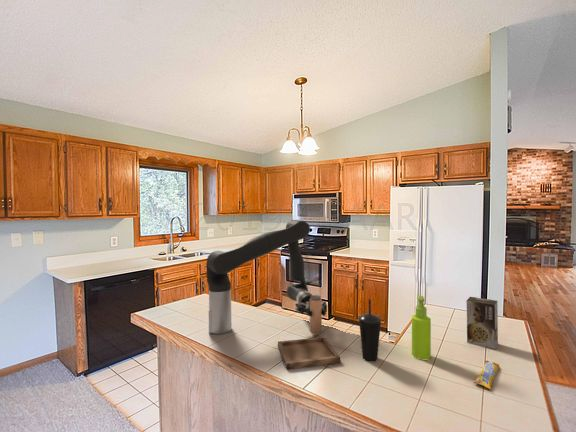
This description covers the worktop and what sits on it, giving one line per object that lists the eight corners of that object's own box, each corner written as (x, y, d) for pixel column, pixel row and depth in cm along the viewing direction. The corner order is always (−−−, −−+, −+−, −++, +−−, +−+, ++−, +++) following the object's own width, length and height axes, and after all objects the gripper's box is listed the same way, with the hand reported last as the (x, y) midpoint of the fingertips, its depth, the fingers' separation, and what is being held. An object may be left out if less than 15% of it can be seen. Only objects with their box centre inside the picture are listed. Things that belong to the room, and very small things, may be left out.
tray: (286, 369, 92) (286, 363, 92) (277, 347, 108) (277, 341, 108) (340, 363, 96) (340, 357, 96) (324, 342, 111) (324, 336, 111)
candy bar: (484, 364, 95) (484, 358, 95) (500, 369, 92) (500, 363, 92) (472, 386, 83) (472, 380, 83) (490, 393, 80) (490, 386, 80)
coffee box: (498, 343, 108) (498, 300, 108) (495, 350, 104) (495, 304, 104) (470, 336, 115) (470, 295, 114) (466, 342, 110) (466, 299, 110)
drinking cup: (383, 365, 94) (382, 303, 94) (358, 362, 96) (358, 302, 96) (380, 353, 102) (380, 296, 102) (358, 351, 103) (357, 295, 103)
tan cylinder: (311, 334, 115) (311, 298, 115) (308, 329, 120) (308, 295, 119) (323, 333, 116) (323, 297, 116) (319, 328, 121) (319, 294, 120)
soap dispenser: (429, 351, 103) (429, 295, 103) (431, 361, 96) (431, 300, 96) (411, 349, 105) (410, 293, 105) (412, 358, 98) (412, 299, 98)
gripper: (290, 293, 130) (300, 305, 113) (321, 291, 133) (335, 303, 116) (290, 310, 130) (300, 324, 114) (321, 308, 133) (334, 321, 117)
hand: (317, 313), depth 115 cm, fingers closed on tan cylinder, 4 cm apart
